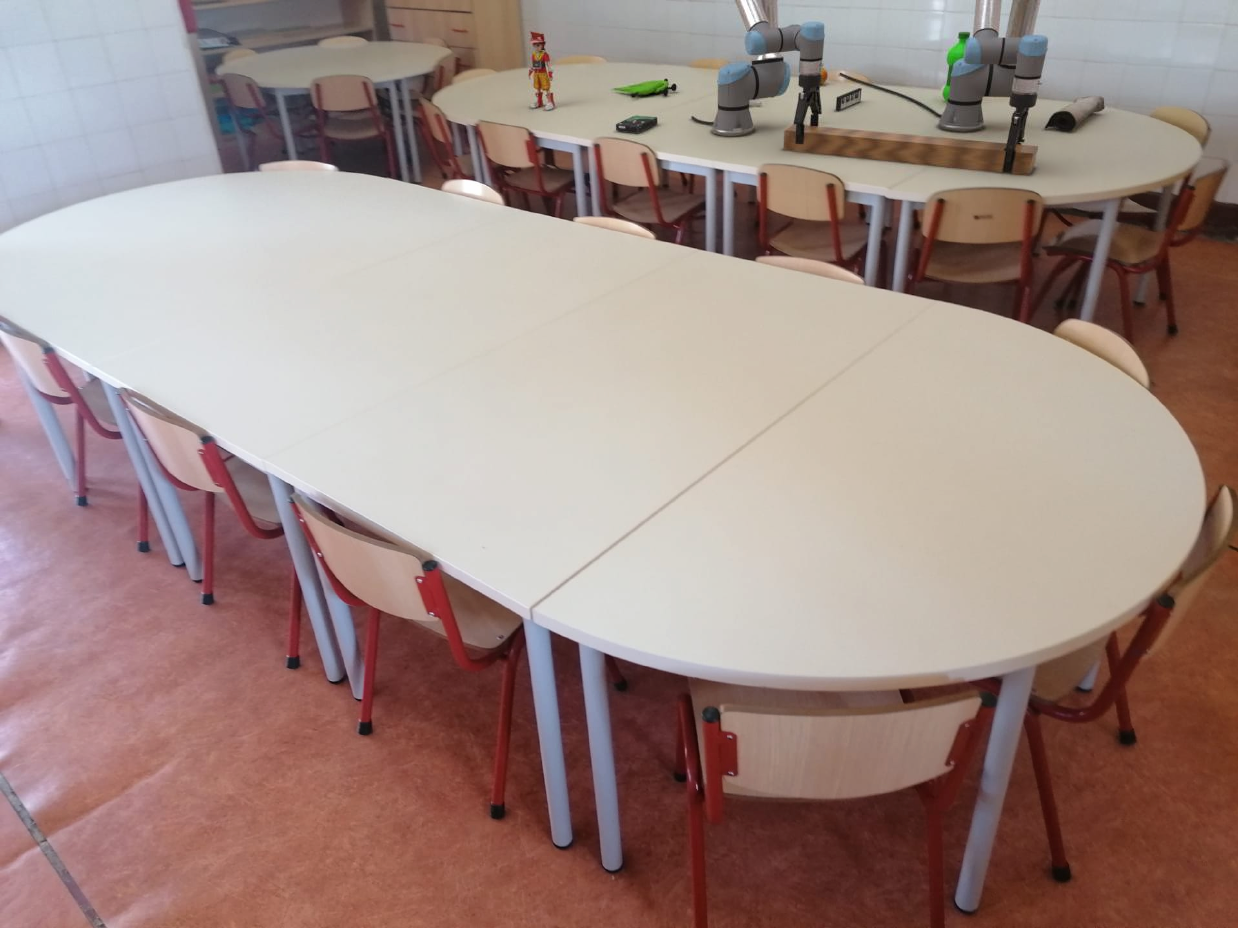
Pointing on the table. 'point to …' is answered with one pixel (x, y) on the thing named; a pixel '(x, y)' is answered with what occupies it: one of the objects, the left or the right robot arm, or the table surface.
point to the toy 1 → (541, 71)
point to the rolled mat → (1075, 113)
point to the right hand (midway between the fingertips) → (1009, 167)
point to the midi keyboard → (848, 99)
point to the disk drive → (636, 124)
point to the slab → (911, 148)
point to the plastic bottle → (955, 59)
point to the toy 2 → (648, 88)
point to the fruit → (823, 75)
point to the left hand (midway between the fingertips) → (806, 139)
